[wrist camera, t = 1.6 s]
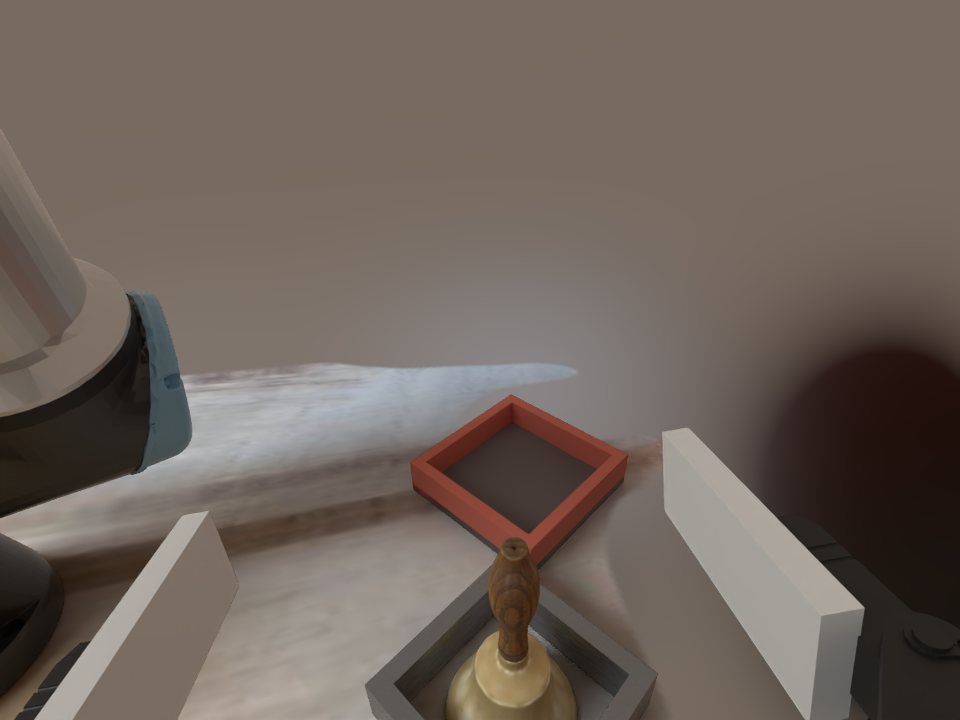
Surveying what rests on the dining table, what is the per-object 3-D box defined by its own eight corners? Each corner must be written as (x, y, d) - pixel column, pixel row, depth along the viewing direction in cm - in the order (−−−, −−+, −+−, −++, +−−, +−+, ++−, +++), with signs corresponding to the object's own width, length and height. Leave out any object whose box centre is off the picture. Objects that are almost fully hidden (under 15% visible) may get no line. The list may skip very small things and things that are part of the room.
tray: (413, 489, 49) (410, 462, 47) (510, 419, 58) (511, 394, 56) (529, 578, 41) (530, 549, 39) (623, 481, 49) (627, 454, 48)
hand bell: (605, 726, 32) (641, 559, 24) (497, 826, 28) (493, 669, 20) (521, 621, 38) (526, 457, 30) (421, 692, 34) (394, 526, 26)
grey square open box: (372, 713, 33) (364, 684, 31) (502, 584, 41) (502, 554, 39) (524, 903, 26) (526, 881, 24) (649, 702, 33) (657, 673, 31)
